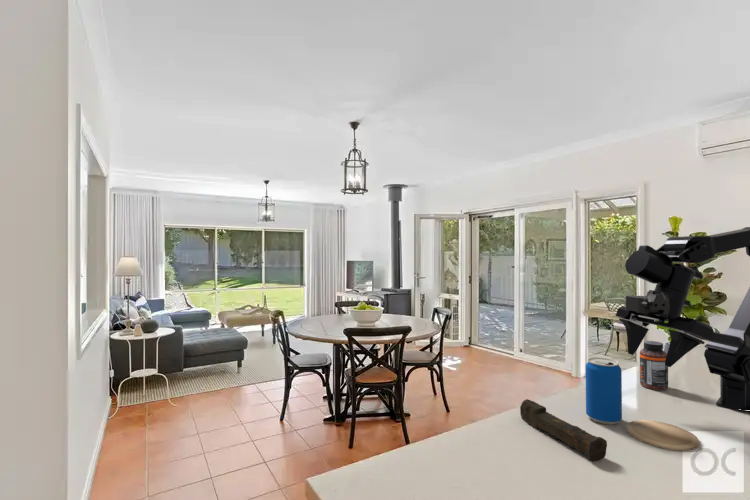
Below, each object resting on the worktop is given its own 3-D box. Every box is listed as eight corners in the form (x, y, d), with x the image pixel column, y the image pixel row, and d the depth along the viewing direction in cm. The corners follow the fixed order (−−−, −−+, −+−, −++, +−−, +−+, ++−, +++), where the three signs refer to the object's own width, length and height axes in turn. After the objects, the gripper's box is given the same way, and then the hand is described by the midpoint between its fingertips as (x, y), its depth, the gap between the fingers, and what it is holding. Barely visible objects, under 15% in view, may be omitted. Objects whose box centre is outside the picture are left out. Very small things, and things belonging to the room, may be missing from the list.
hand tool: (609, 460, 67) (609, 433, 67) (590, 465, 66) (590, 436, 66) (531, 416, 85) (531, 395, 85) (516, 419, 84) (515, 397, 84)
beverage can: (621, 428, 78) (621, 367, 78) (584, 421, 82) (584, 362, 82) (622, 416, 84) (621, 359, 84) (587, 410, 87) (586, 355, 87)
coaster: (637, 418, 83) (637, 415, 83) (705, 436, 75) (705, 433, 75) (618, 434, 76) (618, 431, 76) (690, 457, 67) (690, 453, 67)
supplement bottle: (638, 381, 106) (637, 338, 106) (665, 384, 103) (665, 340, 103) (641, 388, 100) (641, 343, 100) (670, 392, 98) (670, 346, 98)
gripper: (607, 275, 94) (586, 337, 93) (682, 281, 75) (655, 360, 75) (645, 291, 96) (624, 353, 95) (727, 302, 77) (702, 378, 76)
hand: (647, 360), depth 85 cm, fingers open, 9 cm apart
